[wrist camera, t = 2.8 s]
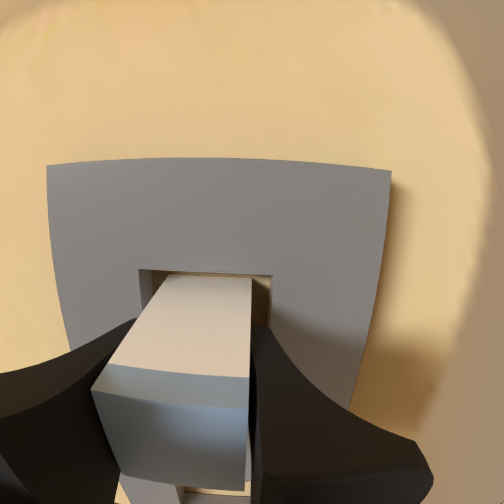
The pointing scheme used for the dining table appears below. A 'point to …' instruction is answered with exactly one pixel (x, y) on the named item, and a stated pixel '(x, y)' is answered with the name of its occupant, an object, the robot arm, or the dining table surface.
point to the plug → (182, 386)
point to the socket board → (224, 256)
